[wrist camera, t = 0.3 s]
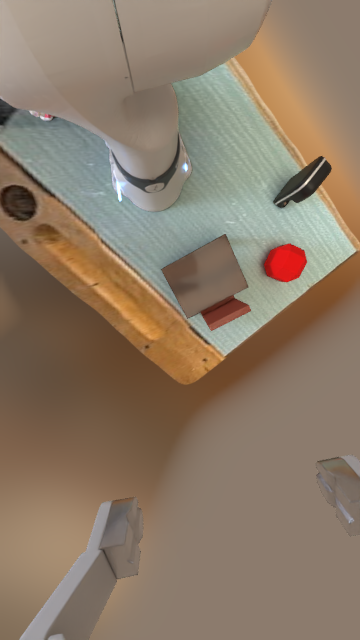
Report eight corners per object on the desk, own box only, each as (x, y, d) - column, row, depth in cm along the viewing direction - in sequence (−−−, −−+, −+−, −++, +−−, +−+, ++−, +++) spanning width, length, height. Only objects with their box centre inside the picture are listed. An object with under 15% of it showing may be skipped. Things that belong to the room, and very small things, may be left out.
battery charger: (282, 213, 50) (313, 197, 39) (271, 203, 50) (299, 184, 39) (302, 188, 49) (339, 165, 38) (291, 177, 49) (326, 150, 37)
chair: (184, 282, 54) (189, 287, 39) (215, 266, 53) (231, 265, 39) (201, 315, 56) (211, 331, 42) (230, 299, 55) (251, 310, 41)
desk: (162, 269, 53) (161, 269, 45) (217, 238, 51) (225, 233, 44) (185, 312, 56) (187, 318, 48) (238, 284, 54) (248, 287, 47)
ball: (297, 255, 53) (317, 253, 46) (282, 283, 55) (299, 286, 47) (271, 242, 52) (287, 238, 45) (256, 272, 54) (270, 272, 46)
